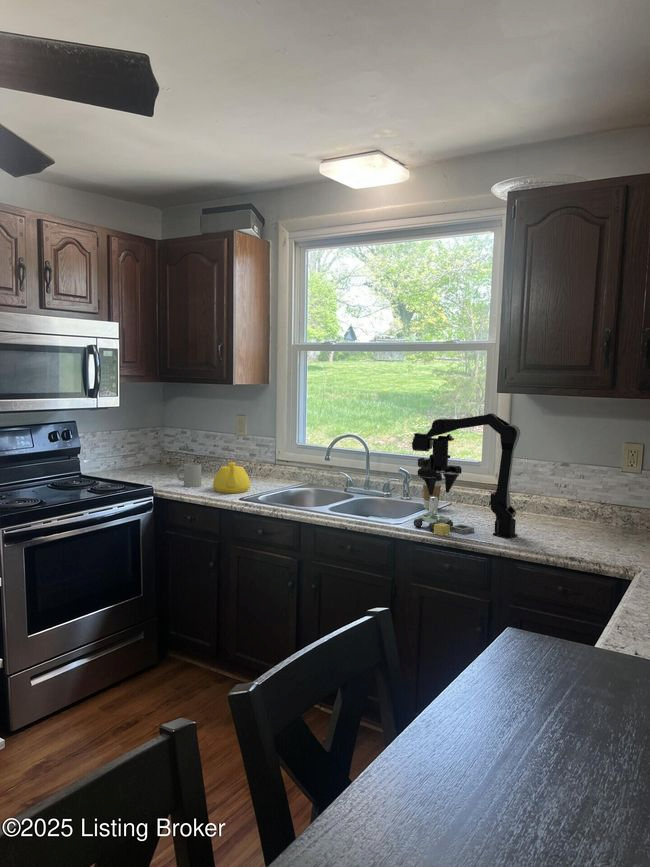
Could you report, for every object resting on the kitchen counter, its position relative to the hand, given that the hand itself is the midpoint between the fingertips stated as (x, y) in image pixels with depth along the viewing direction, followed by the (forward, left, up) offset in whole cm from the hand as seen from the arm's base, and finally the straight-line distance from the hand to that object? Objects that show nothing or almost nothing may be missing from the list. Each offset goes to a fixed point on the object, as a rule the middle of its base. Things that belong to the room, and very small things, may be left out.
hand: (439, 493), depth 237 cm
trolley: (0, +3, -13) cm, 13 cm away
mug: (+129, +39, -13) cm, 135 cm away
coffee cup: (+26, -24, -13) cm, 38 cm away
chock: (-8, +7, -13) cm, 17 cm away
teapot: (+106, +28, -13) cm, 110 cm away
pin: (+1, +2, -9) cm, 10 cm away
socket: (-9, -2, -13) cm, 16 cm away
